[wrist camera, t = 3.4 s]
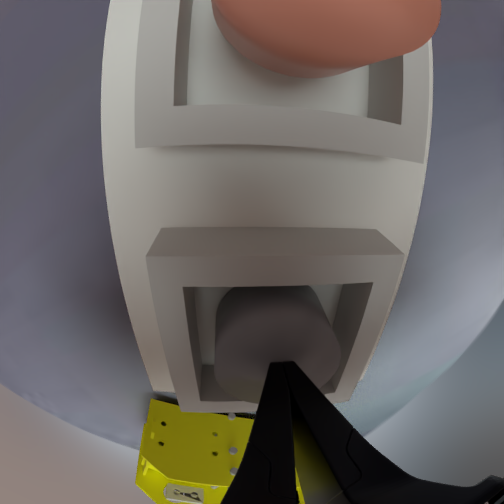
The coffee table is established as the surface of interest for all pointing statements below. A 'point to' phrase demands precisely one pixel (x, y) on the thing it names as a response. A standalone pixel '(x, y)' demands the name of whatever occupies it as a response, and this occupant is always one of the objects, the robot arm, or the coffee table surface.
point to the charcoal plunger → (271, 337)
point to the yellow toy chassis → (191, 454)
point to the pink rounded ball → (325, 32)
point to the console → (253, 188)
